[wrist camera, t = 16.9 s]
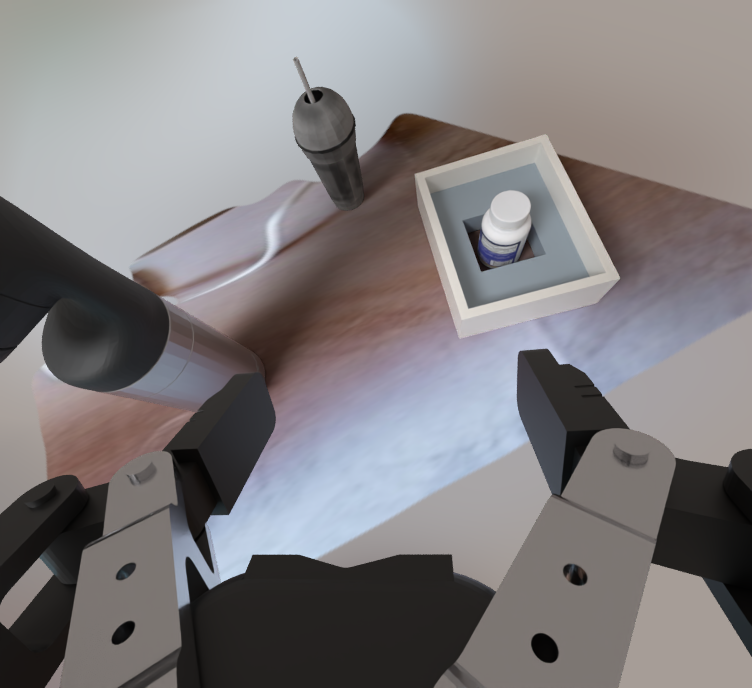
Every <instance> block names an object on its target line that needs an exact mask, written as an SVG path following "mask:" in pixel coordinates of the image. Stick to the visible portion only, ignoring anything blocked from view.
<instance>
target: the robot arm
mask: <svg viewBox="0 0 752 688" xmlns="http://www.w3.org/2000/svg"><path fill="white" fill-rule="evenodd" d="M47 313H48V316H47V319H46V322H45V325H44V330H43V335H42V352H43V356H44V360H45V363H46V365H47V367H48V368H49V370H50V371H51V372H52V373H53V375H54V376H56V377H57V378H58V379H60V380H61V381H63V382H65V383H67V384H69V385H72V386H75V387H79V388H83V389H87V390H92V391H97V392H102V393H107V394H111V395H116V396H121V397H126V398H131V399H136V400H141V401H145V402H150V403H154V404H159V405H164V406H169V407H173V408H178V409H183V410H188V411H192V412H197V413H195V414H194V415H193V416H192V417H191V418H190V422H187V423H186V424H185V425H184V426H183V428H182V429H181V430H180V431H179V432H178V433H177V434H176V436H175V437H174V438H173V439H172V440H171V441H170V442H169V444H168V445H167V446H166V447H165V448H164V449H163V450H162V451H155V452H150V453H147V454H144V455H142V456H139V457H137V458H135V459H134V460H132V461H130V462H129V463H127V464H126V465H124V466H123V467H122V468H121V469H119V470H118V471H117V472H116V473H115V475H114V476H113V477H112V479H111V480H110V482H109V483H105V484H102V485H98V486H94V487H91V488H87V489H84V487H83V486H82V484H81V483H80V481H79V480H78V478H77V477H76V476H74V475H63V476H59V477H55V478H52V479H50V480H47V481H45V482H43V483H41V484H39V485H37V486H35V487H34V488H32V489H30V490H29V491H27V492H26V493H25V494H23V495H22V496H20V497H19V498H18V499H17V500H16V501H15V502H14V503H12V504H11V505H10V506H9V507H8V508H7V509H6V510H5V511H3V512H2V513H1V514H0V604H1V602H2V600H3V598H4V596H5V595H6V594H7V593H8V591H9V590H10V589H11V588H12V587H13V586H14V585H15V583H16V582H17V581H18V580H19V579H20V578H21V577H22V576H23V575H24V573H25V572H26V571H27V570H28V569H29V568H30V567H31V566H32V565H33V563H34V562H35V561H36V560H37V559H38V558H39V557H40V559H41V560H42V561H43V562H44V563H45V564H46V566H47V567H48V568H49V569H50V570H51V571H52V572H53V574H54V575H53V576H52V577H51V579H50V580H49V581H48V582H47V584H46V585H45V586H44V587H43V588H42V590H41V591H40V592H39V593H38V594H37V596H36V597H35V598H34V599H33V601H32V602H31V603H30V604H29V605H28V607H27V608H26V609H25V610H24V611H23V613H22V614H21V615H20V617H19V618H18V619H17V620H16V621H15V622H14V624H13V625H12V626H11V627H10V628H9V630H8V629H7V628H6V627H5V626H4V625H2V624H1V623H0V688H45V686H46V685H47V683H48V682H49V680H50V679H51V677H52V676H53V674H54V673H55V671H56V670H57V668H58V667H59V665H60V664H61V662H62V661H63V659H64V664H63V670H62V675H61V682H60V687H59V688H618V687H619V683H620V679H621V675H622V671H623V667H624V663H625V660H626V656H627V652H628V648H629V644H630V641H631V637H632V633H633V629H634V625H635V622H636V618H637V614H638V610H639V606H640V602H641V598H642V595H643V591H644V587H645V583H646V579H647V576H648V572H649V568H650V564H651V563H653V564H657V565H660V566H664V567H668V568H671V569H675V570H678V571H682V572H686V573H689V574H693V575H697V576H701V577H702V578H703V579H704V581H705V582H706V584H707V586H708V587H709V589H710V590H711V592H712V594H713V595H714V597H715V598H716V600H717V602H718V603H719V605H720V607H721V608H722V610H723V611H724V613H725V615H726V616H727V618H728V620H729V621H730V622H731V624H732V626H733V628H734V629H735V630H736V632H737V634H738V635H739V637H740V639H741V640H742V642H743V644H744V645H745V647H746V648H747V650H748V652H749V653H750V655H751V656H752V449H747V450H742V451H739V452H737V453H736V454H734V456H733V457H732V458H731V461H730V464H729V467H723V466H717V465H711V464H705V463H699V462H693V461H687V460H683V459H678V458H675V457H674V455H673V453H672V452H671V451H670V450H669V448H667V447H666V446H665V445H664V444H663V443H661V442H660V441H659V440H657V439H655V438H653V437H651V436H649V435H647V434H644V433H641V432H638V431H634V430H630V429H629V428H628V426H627V425H626V424H625V422H624V421H623V420H622V419H621V417H620V416H619V415H618V414H617V412H616V411H615V410H614V409H613V408H612V406H611V405H610V404H609V402H608V401H607V400H606V399H605V397H602V394H601V392H600V391H599V390H598V389H597V387H594V384H593V382H592V381H591V380H590V379H589V377H588V376H587V375H586V374H585V373H584V372H582V371H580V370H579V369H577V368H575V367H574V366H572V365H570V364H563V365H559V364H558V362H557V361H556V360H555V358H554V357H553V355H552V354H551V352H550V351H549V350H548V349H537V350H525V351H520V352H519V354H518V371H517V404H518V410H519V414H520V417H521V420H522V422H523V425H524V427H525V429H526V432H527V434H528V437H529V439H530V442H531V444H532V446H533V449H534V451H535V454H536V456H537V459H538V461H539V463H540V466H541V468H542V471H543V473H544V475H545V478H546V481H547V483H548V485H549V488H550V490H551V493H552V496H551V497H550V498H549V499H548V501H547V503H546V504H545V506H544V508H543V510H542V511H541V513H540V515H539V517H538V519H537V520H536V522H535V524H534V526H533V527H532V529H531V531H530V533H529V535H528V536H527V538H526V540H525V542H524V544H523V545H522V547H521V549H520V551H519V552H518V554H517V556H516V558H515V560H514V561H513V563H512V565H511V567H510V568H509V570H508V572H507V574H506V576H505V577H504V579H503V581H502V583H501V585H500V586H499V588H498V590H497V592H496V591H494V590H493V589H491V588H490V587H488V586H486V585H484V584H482V583H480V582H479V581H476V580H474V579H472V578H469V577H467V576H464V575H460V574H457V573H454V572H453V564H452V555H396V556H392V557H389V558H385V559H381V560H377V561H373V562H369V563H366V564H361V565H357V566H354V567H349V568H342V567H338V566H335V565H331V564H328V563H325V562H321V561H318V560H315V559H311V558H308V557H305V556H301V555H252V558H251V560H250V563H249V565H248V567H247V570H246V572H245V573H243V574H240V575H238V576H235V577H232V578H230V579H228V580H226V581H224V582H222V583H221V579H220V575H219V570H218V565H217V561H216V556H215V551H214V546H213V542H212V537H211V532H210V529H209V527H208V525H207V523H206V522H207V521H208V519H209V517H210V515H229V514H230V512H231V510H232V508H233V506H234V504H235V502H236V501H237V499H238V497H239V495H240V493H241V491H242V489H243V487H244V485H245V483H246V482H247V480H248V478H249V476H250V474H251V472H252V470H253V468H254V466H255V464H256V463H257V461H258V459H259V457H260V455H261V453H262V451H263V449H264V447H265V445H266V444H267V442H268V440H269V438H270V436H271V434H272V432H273V430H274V427H275V421H276V416H275V411H274V407H273V404H272V401H271V398H270V395H269V392H268V389H267V386H266V383H265V369H264V365H263V363H262V361H261V359H260V358H259V357H258V356H257V355H256V354H255V353H254V352H252V351H251V350H249V349H248V348H246V347H244V346H243V345H241V344H239V343H238V342H236V341H234V340H233V339H231V338H229V337H228V336H226V335H224V334H222V333H221V332H219V331H217V330H216V329H214V328H212V327H211V326H209V325H207V324H206V323H204V322H202V321H200V320H199V319H197V318H195V317H194V316H192V315H190V314H189V313H187V312H185V311H183V310H182V309H180V308H178V307H177V306H175V305H173V304H171V303H170V302H168V301H166V300H165V299H163V298H161V297H160V296H158V295H156V294H155V293H153V292H152V291H150V290H148V289H146V288H145V287H143V286H141V285H139V284H137V283H136V282H134V281H132V280H130V279H128V278H127V277H125V276H123V275H122V274H120V273H118V272H117V271H115V270H113V269H111V268H110V267H108V266H106V265H105V264H103V263H101V262H100V261H98V260H96V259H94V258H93V257H91V256H90V255H88V254H87V253H85V252H84V251H82V250H81V249H79V248H78V247H76V246H74V245H73V244H72V243H70V242H69V241H67V240H66V239H64V238H63V237H61V236H60V235H58V234H57V233H55V232H54V231H52V230H50V229H49V228H48V227H46V226H45V225H43V224H42V223H40V222H39V221H37V220H36V219H34V218H33V217H31V216H30V215H28V214H27V213H25V212H24V211H22V210H21V209H19V208H18V207H16V206H15V205H13V204H12V203H10V202H9V201H7V200H5V199H4V198H2V197H1V196H0V363H1V362H2V361H3V360H4V359H6V358H7V356H8V355H9V354H10V353H11V352H12V351H13V350H14V349H15V348H16V347H17V345H19V344H20V343H21V342H22V340H23V339H24V338H25V337H26V336H27V335H28V334H29V333H30V332H31V330H32V329H33V328H34V327H35V326H36V325H37V324H38V323H39V322H40V320H41V319H42V318H43V317H44V316H45V315H46V314H47Z"/></svg>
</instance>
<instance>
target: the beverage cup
mask: <svg viewBox="0 0 752 688" xmlns="http://www.w3.org/2000/svg"><path fill="white" fill-rule="evenodd" d="M293 61H294V63H295V65H296V68H297V70H298V73H299V75H300V77H301V80H302V82H303V84H304V87H305V90H306V92H304V93H303V94H302V95H301V96H300V98H299V99H298V101H297V102H296V105H295V108H294V111H293V130H294V134H295V140H296V142H297V144H298V146H299V147H300V148H301V149H302V151H303V152H304V154H305V155H306V156H307V158H308V159H310V161H311V163H312V165H313V167H314V168H315V170H316V172H317V174H318V175H319V177H320V179H321V181H322V183H323V185H324V186H325V188H326V190H327V192H328V194H329V195H330V197H331V199H332V200H333V202H334V203H335V205H336V207H338V208H339V209H341V210H347V211H348V210H353V209H355V208H357V207H358V206H359V205H360V204H361V203H362V201H363V199H364V192H363V183H362V177H361V171H360V165H359V160H358V154H357V148H356V142H355V141H356V134H355V126H356V125H355V118H354V116H353V114H352V113H351V110H350V108H349V106H348V105H347V103H346V102H345V100H344V99H343V97H341V96H340V95H339V94H338V93H336V92H334V91H333V90H331V89H328V88H324V87H315V88H311V89H310V87H309V84H308V82H307V79H306V77H305V74H304V72H303V70H302V67H301V65H300V62H299V60H298V57H295V58H294V59H293Z"/></svg>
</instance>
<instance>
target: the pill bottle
mask: <svg viewBox="0 0 752 688" xmlns="http://www.w3.org/2000/svg"><path fill="white" fill-rule="evenodd" d="M530 209H531V203H530V200H529V198H528V197H527V196H526V195H525V194H523V193H521V192H519V191H514V190H509V191H504V192H501V193H499V194H498V195H497V196H496V197H495V198H494V199H493V201H492V203H491V207H490V208H489V209H488V210H487V212H486V213H485V214H484V216H483V219H482V224H481V230H480V236H479V242H478V249H477V253H478V257H479V259H480V261H481V262H482V263H483V264H484V265H485V266H487V267H489V268H491V269H494V268H498V267H501V266H505V265H509V264H512V263H516V262H517V261H518V259H519V258H520V255H521V253H522V250H523V247H524V245H525V242H526V239H527V237H528V234H529V231H530V228H531V216H530V214H529V213H530Z"/></svg>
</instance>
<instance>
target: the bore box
mask: <svg viewBox="0 0 752 688" xmlns="http://www.w3.org/2000/svg"><path fill="white" fill-rule="evenodd" d="M415 182H416V193H417V203H418V209H419V212H420V215H421V218H422V221H423V225H424V228H425V231H426V234H427V237H428V241H429V244H430V247H431V250H432V253H433V257H434V260H435V263H436V266H437V269H438V272H439V276H440V279H441V282H442V285H443V288H444V292H445V295H446V298H447V301H448V304H449V308H450V311H451V314H452V317H453V320H454V324H455V327H456V330H457V333H458V336H459V339H460V338H464V337H468V336H472V335H476V334H480V333H484V332H488V331H492V330H495V329H499V328H503V327H507V326H511V325H515V324H519V323H523V322H526V321H530V320H534V319H538V318H542V317H546V316H550V315H554V314H557V313H561V312H565V311H569V310H573V309H577V308H581V307H585V306H589V305H592V304H596V303H597V302H598V301H599V300H600V299H601V298H602V297H603V296H604V295H605V294H606V293H607V292H608V291H609V290H610V289H611V288H612V287H613V286H614V285H615V284H616V283H617V281H618V280H619V279H620V276H619V274H618V273H617V271H616V269H615V267H614V265H613V263H612V261H611V259H610V257H609V255H608V253H607V251H606V249H605V247H604V245H603V243H602V241H601V239H600V237H599V236H598V234H597V232H596V230H595V228H594V226H593V224H592V222H591V220H590V218H589V216H588V214H587V212H586V210H585V208H584V206H583V204H582V202H581V200H580V199H579V197H578V195H577V193H576V191H575V189H574V187H573V185H572V183H571V181H570V179H569V177H568V175H567V173H566V171H565V169H564V167H563V165H562V163H561V162H560V160H559V158H558V156H557V154H556V152H555V150H554V148H553V146H552V144H551V142H550V140H549V138H548V136H547V134H545V135H542V136H538V137H535V138H531V139H528V140H525V141H522V142H518V143H515V144H512V145H508V146H505V147H502V148H499V149H495V150H492V151H489V152H485V153H482V154H479V155H476V156H472V157H469V158H466V159H462V160H459V161H456V162H453V163H449V164H446V165H443V166H440V167H436V168H433V169H430V170H426V171H423V172H420V173H417V174H415ZM509 190H514V191H519V192H521V193H523V194H525V195H526V196H527V197H528V198H529V200H530V203H531V209H530V213H529V214H530V216H531V228H530V231H529V234H528V237H527V239H528V242H529V244H530V246H531V249H532V251H533V253H534V256H535V257H534V258H531V259H527V260H523V261H520V262H516V263H512V264H509V265H505V266H501V267H498V268H494V269H490V270H487V271H483V272H481V270H480V268H479V265H478V262H477V259H476V257H475V254H474V251H473V248H472V246H471V243H470V240H469V237H468V234H467V233H470V232H473V231H477V230H480V229H481V224H482V219H483V216H484V214H485V213H486V212H487V210H488V209H489V208H490V207H491V203H492V201H493V199H494V198H495V197H496V196H497V195H498V194H499V193H501V192H504V191H509Z"/></svg>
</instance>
